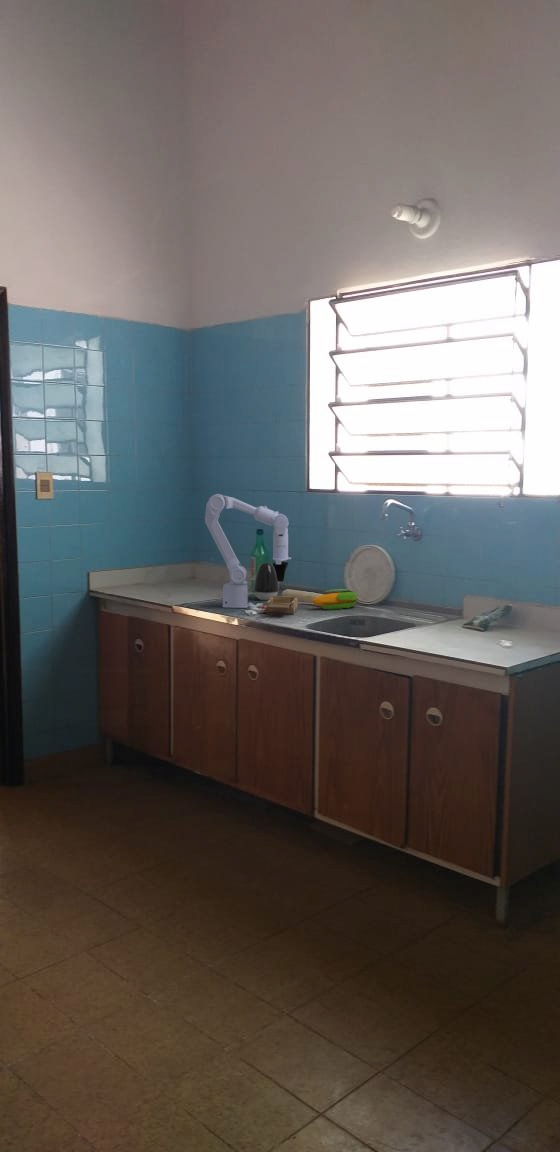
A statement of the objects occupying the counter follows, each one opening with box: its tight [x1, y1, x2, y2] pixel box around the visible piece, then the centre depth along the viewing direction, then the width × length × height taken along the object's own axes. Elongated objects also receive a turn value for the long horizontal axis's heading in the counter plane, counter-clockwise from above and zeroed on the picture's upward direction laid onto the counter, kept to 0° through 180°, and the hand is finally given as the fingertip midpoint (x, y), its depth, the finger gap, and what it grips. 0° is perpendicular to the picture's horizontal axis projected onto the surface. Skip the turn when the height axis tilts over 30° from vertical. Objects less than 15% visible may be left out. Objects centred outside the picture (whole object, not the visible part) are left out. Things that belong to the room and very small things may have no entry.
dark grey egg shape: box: [253, 561, 280, 601], centre depth 371 cm, size 10×10×15 cm
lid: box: [267, 595, 291, 609], centre depth 333 cm, size 14×7×3 cm, turn 173°
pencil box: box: [265, 596, 299, 616], centre depth 342 cm, size 16×10×4 cm, turn 173°
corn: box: [311, 588, 358, 611], centre depth 349 cm, size 7×8×20 cm
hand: (280, 581), depth 351 cm, fingers closed
